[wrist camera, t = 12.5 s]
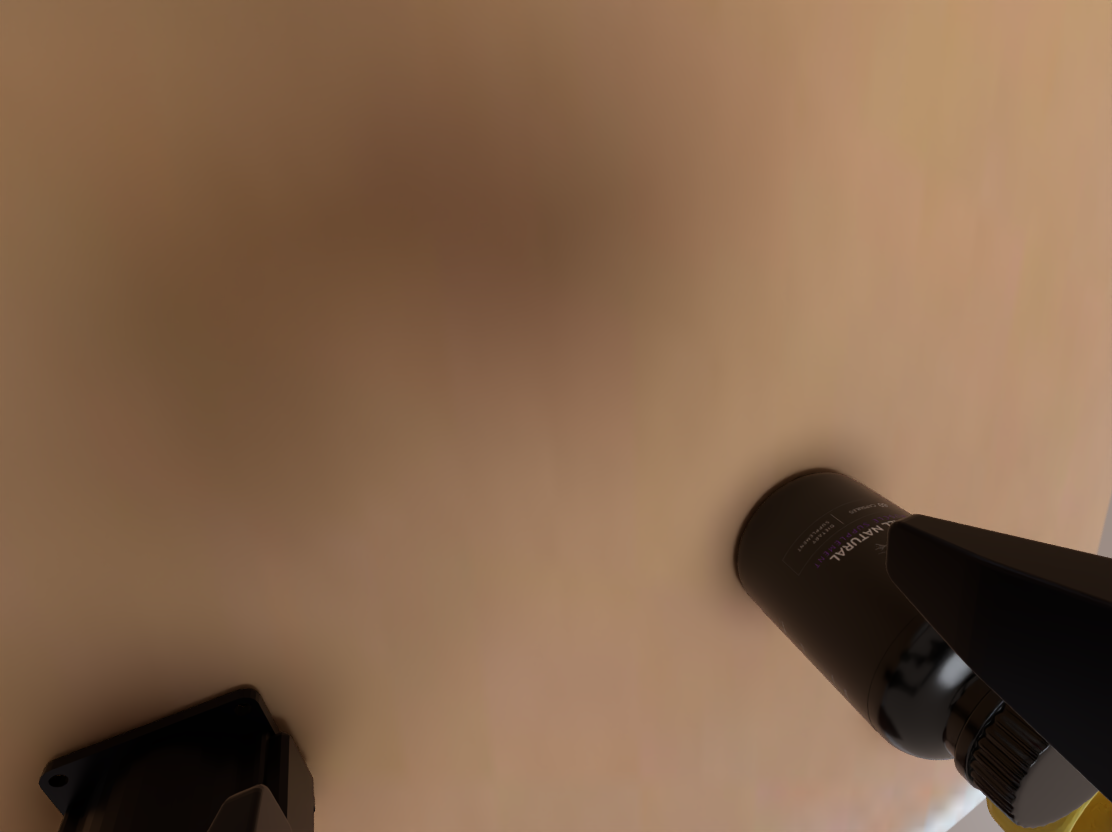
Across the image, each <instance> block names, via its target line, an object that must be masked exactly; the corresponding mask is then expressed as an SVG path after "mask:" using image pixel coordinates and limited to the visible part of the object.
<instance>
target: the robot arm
mask: <svg viewBox="0 0 1112 832" xmlns="http://www.w3.org/2000/svg"><path fill="white" fill-rule="evenodd" d="M886 570H887V573H888V575H889V577H890V579H891V580H892V582H893V583H894V584H895V585H896V586H897V588H898V589H899V590H900V591H901V592H902V593H903V594H904V595H905V597H906V598H907V599H908V600H909V601H910V602H911V603H912V604H913V606H914V607H915V608H916V609H917V610H918V611H919V612H920V613H921V615H922V616H923V617H924V618H925V619H926V620H927V621H928V623H929V624H930V625H931V626H932V627H933V628H934V629H935V630H936V632H937V633H938V634H939V635H940V636H941V637H942V638H943V639H944V641H945V642H946V643H947V644H948V645H949V646H950V647H951V649H952V650H953V651H954V652H955V653H956V654H957V655H958V656H959V657H960V658H961V659H962V660H963V662H964V663H965V664H966V665H967V666H968V667H969V668H970V669H971V670H972V671H973V672H974V673H975V674H976V675H977V676H978V677H979V678H980V679H981V680H983V681H984V682H985V683H986V684H987V685H988V686H989V687H990V688H991V689H992V690H993V691H994V692H995V693H996V694H997V695H998V696H999V697H1000V698H1001V699H1003V700H1004V701H1005V702H1006V703H1007V704H1008V705H1009V706H1010V707H1011V708H1012V709H1013V710H1014V711H1015V712H1016V713H1017V714H1018V715H1019V716H1020V717H1022V718H1023V719H1024V720H1025V721H1026V722H1027V723H1028V724H1029V725H1030V726H1031V727H1032V728H1033V729H1034V730H1035V731H1036V732H1037V733H1038V734H1039V735H1041V736H1042V737H1043V738H1044V739H1045V740H1046V741H1047V742H1048V743H1049V744H1050V745H1051V746H1052V747H1053V748H1054V749H1055V750H1056V751H1057V752H1058V753H1059V754H1061V755H1062V756H1063V757H1064V758H1065V759H1066V760H1067V761H1068V762H1069V763H1070V764H1071V765H1072V766H1073V767H1074V768H1075V769H1076V770H1077V771H1078V772H1080V773H1081V774H1082V775H1083V776H1084V777H1085V778H1086V779H1087V780H1088V781H1089V782H1090V783H1091V784H1092V785H1093V786H1094V787H1095V788H1096V789H1097V790H1098V791H1100V792H1101V793H1102V794H1103V795H1104V796H1105V797H1106V798H1107V799H1108V800H1109V801H1110V802H1111V803H1112V558H1108V557H1103V556H1099V555H1095V554H1090V553H1086V552H1082V551H1077V550H1073V549H1069V548H1064V547H1060V546H1056V545H1051V544H1047V543H1042V542H1038V541H1034V540H1029V539H1025V538H1021V537H1016V536H1012V535H1008V534H1003V533H999V532H995V531H990V530H986V529H981V528H977V527H973V526H968V525H964V524H960V523H955V522H951V521H947V520H942V519H938V518H934V517H929V516H925V515H920V514H913V515H909V516H907V517H904V518H902V519H899V520H897V521H895V522H893V523H891V525H890V526H889V528H888V535H887V550H886ZM243 703H246V704H249V705H248V706H243V707H242V706H238V705H239V704H243ZM59 774H60V775H65V776H57V775H59ZM39 785H40V788H41V789H42V790H43V791H44V793H45V794H46V795H47V796H48V797H49V799H50V800H51V801H52V802H53V804H54V805H55V806H56V807H57V808H58V810H59V811H60V812H61V813H62V815H63V816H64V817H63V820H62V823H61V825H60V828H59V831H58V832H314V812H315V798H314V795H313V777H312V775H311V773H310V771H309V769H308V768H307V766H306V764H305V762H304V760H303V758H302V756H301V754H300V752H299V750H298V748H297V747H296V745H295V743H294V741H293V739H292V737H291V735H289V734H287V733H285V732H284V731H283V732H279V730H278V728H277V726H276V724H275V722H274V720H273V719H272V717H271V715H270V713H269V711H268V709H267V707H266V706H265V704H264V702H263V700H262V698H261V696H260V694H259V693H258V692H257V691H255V690H253V689H241V690H237V691H235V692H232V693H229V694H227V695H224V696H221V697H219V698H216V699H213V700H211V701H208V702H206V703H203V704H200V705H198V706H195V707H192V708H190V709H187V710H185V711H182V712H179V713H177V714H174V715H171V716H169V717H166V718H163V719H161V720H158V721H156V722H153V723H150V724H148V725H145V726H142V727H140V728H137V729H134V730H132V731H129V732H127V733H124V734H121V735H119V736H116V737H113V738H111V739H108V740H105V741H103V742H100V743H98V744H95V745H92V746H90V747H87V748H84V749H82V750H79V751H76V752H74V753H71V754H69V755H66V756H63V757H61V758H58V759H55V760H53V761H52V762H50V763H48V764H47V765H46V767H45V768H44V770H43V772H42V775H41V777H40V780H39Z"/></svg>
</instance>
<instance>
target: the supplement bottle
mask: <svg viewBox="0 0 1112 832" xmlns="http://www.w3.org/2000/svg"><path fill="white" fill-rule="evenodd" d="M909 515H912V514H910V513H908V512H907V511H905V510H904V509H902V508H900V507H899V506H897V505H896V504H894V503H892V502H891V501H889V500H888V499H886V498H884V497H883V496H881V495H880V494H878V493H876V492H875V491H873V490H872V489H870V488H868V487H866V486H865V485H863V484H862V483H860V482H858V481H857V480H855V479H853V478H851V477H848V476H846V475H843V474H839V473H833V472H821V473H813V474H809V475H805V476H802V477H799V478H797V479H795V480H793V481H791V482H789V483H787V484H785V485H784V486H782V487H781V488H779V489H778V490H776V491H775V492H774V493H773V494H771V495H770V496H769V497H768V498H767V499H766V500H765V501H764V502H763V503H762V504H761V505H760V507H759V508H758V509H757V510H756V512H755V513H754V514H753V516H752V517H751V519H750V521H749V522H748V524H747V526H746V528H745V530H744V533H743V535H742V538H741V541H740V545H739V550H738V560H737V563H738V573H739V577H740V580H741V583H742V585H743V587H744V589H745V591H746V592H747V594H748V595H749V596H750V597H751V599H752V600H753V601H754V602H755V603H756V604H757V605H758V606H759V607H760V608H761V610H762V611H763V612H764V613H765V614H766V615H767V616H768V617H769V618H770V619H771V620H772V621H773V623H774V624H775V625H776V626H777V627H778V628H779V629H780V630H781V631H782V632H783V633H784V634H785V635H786V636H787V637H788V638H789V639H790V640H791V642H792V643H793V644H794V645H795V646H796V647H797V648H798V649H799V650H800V651H801V652H802V653H803V654H804V655H805V656H806V657H807V658H808V659H809V661H810V662H811V663H812V664H813V665H814V666H815V667H816V668H817V669H818V670H819V671H820V672H821V673H822V674H823V675H824V676H825V677H826V679H827V680H828V681H829V682H830V683H831V684H832V685H833V686H834V687H835V688H836V689H837V690H838V691H839V692H840V693H841V694H842V695H843V696H844V698H845V699H846V700H847V701H848V702H849V703H850V704H851V705H852V706H853V707H854V708H855V709H856V710H857V711H858V712H859V713H860V714H861V715H862V717H863V718H864V719H865V720H866V721H867V722H868V723H869V724H870V725H871V726H872V727H873V728H874V729H875V730H876V731H877V732H878V733H879V734H880V735H881V736H882V737H883V738H884V739H885V740H886V741H887V742H888V743H890V744H891V745H892V746H894V747H895V748H897V749H899V750H901V751H903V752H905V753H907V754H910V755H912V756H915V757H919V758H923V759H929V760H948V759H954V762H955V766H956V769H957V770H958V772H959V773H960V774H961V775H962V776H963V777H964V778H965V779H966V780H967V781H968V782H969V783H970V784H971V785H972V786H973V787H974V788H976V789H979V790H980V791H981V792H982V793H983V794H984V795H985V796H986V797H987V798H988V799H989V800H990V801H991V802H992V803H993V804H994V805H995V806H996V807H997V808H999V809H1000V810H1001V811H1002V812H1003V813H1004V814H1005V815H1006V816H1007V817H1008V818H1009V819H1010V820H1011V821H1012V822H1013V823H1015V824H1016V825H1018V826H1022V827H1023V828H1029V827H1031V828H1033V829H1034V828H1037V827H1039V826H1041V827H1044V826H1046V825H1048V824H1049V823H1054V822H1056V821H1058V820H1059V819H1061V818H1063V817H1065V816H1067V815H1069V814H1070V813H1071V812H1072V811H1074V810H1076V809H1078V808H1079V807H1080V806H1082V805H1083V804H1084V803H1085V802H1087V801H1088V800H1090V799H1091V798H1092V797H1093V796H1094V795H1095V794H1096V793H1097V792H1098V790H1097V789H1096V788H1095V787H1094V786H1093V785H1092V784H1091V783H1090V782H1089V781H1088V780H1087V779H1086V778H1085V777H1084V776H1083V775H1082V774H1081V773H1080V772H1078V771H1077V770H1076V769H1075V768H1074V767H1073V766H1072V765H1071V764H1070V763H1069V762H1068V761H1067V760H1066V759H1065V758H1064V757H1063V756H1062V755H1061V754H1059V753H1058V752H1057V751H1056V750H1055V749H1054V748H1053V747H1052V746H1051V745H1050V744H1049V743H1048V742H1047V741H1046V740H1045V739H1044V738H1043V737H1042V736H1041V735H1039V734H1038V733H1037V732H1036V731H1035V730H1034V729H1033V728H1032V727H1031V726H1030V725H1029V724H1028V723H1027V722H1026V721H1025V720H1024V719H1023V718H1022V717H1020V716H1019V715H1018V714H1017V713H1016V712H1015V711H1014V710H1013V709H1012V708H1011V707H1010V706H1009V705H1008V704H1007V703H1006V702H1005V701H1004V700H1003V699H1001V698H1000V697H999V696H998V695H997V694H996V693H995V692H994V691H993V690H992V689H991V688H990V687H989V686H988V685H987V684H986V683H985V682H984V681H983V680H981V679H980V678H979V677H978V676H977V675H976V674H975V673H974V672H973V671H972V670H971V669H970V668H969V667H968V666H967V665H966V664H965V663H964V662H963V660H962V659H961V658H960V657H959V656H958V655H957V654H956V653H955V652H954V651H953V650H952V649H951V647H950V646H949V645H948V644H947V643H946V642H945V641H944V639H943V638H942V637H941V636H940V635H939V634H938V633H937V632H936V630H935V629H934V628H933V627H932V626H931V625H930V624H929V623H928V621H927V620H926V619H925V618H924V617H923V616H922V615H921V613H920V612H919V611H918V610H917V609H916V608H915V607H914V606H913V604H912V603H911V602H910V601H909V600H908V599H907V598H906V597H905V595H904V594H903V593H902V592H901V591H900V590H899V589H898V588H897V586H896V585H895V584H894V583H893V582H892V580H891V579H890V577H889V575H888V573H887V570H886V550H887V535H888V528H889V526H890V525H891V523H893V522H895V521H897V520H899V519H902V518H904V517H907V516H909Z"/></svg>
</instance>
